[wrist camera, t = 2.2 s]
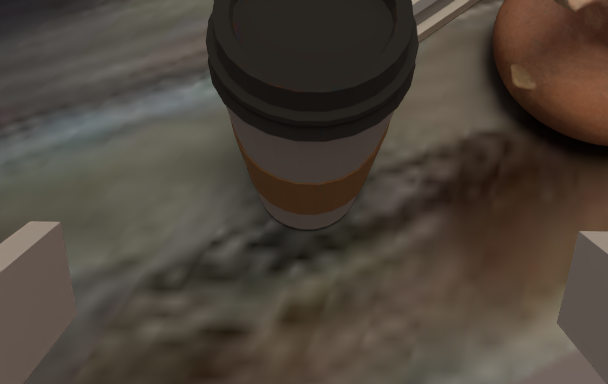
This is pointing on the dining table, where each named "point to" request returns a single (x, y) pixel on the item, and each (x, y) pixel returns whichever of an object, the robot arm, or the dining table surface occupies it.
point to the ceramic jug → (557, 63)
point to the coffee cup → (311, 94)
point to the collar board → (436, 14)
